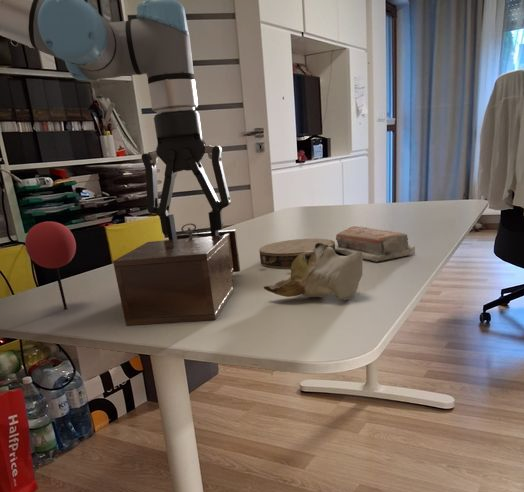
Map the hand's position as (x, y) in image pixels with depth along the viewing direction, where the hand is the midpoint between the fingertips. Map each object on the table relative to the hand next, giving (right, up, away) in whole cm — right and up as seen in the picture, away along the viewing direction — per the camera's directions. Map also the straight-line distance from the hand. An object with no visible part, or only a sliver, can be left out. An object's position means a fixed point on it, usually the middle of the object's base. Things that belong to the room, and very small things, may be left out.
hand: (195, 250), depth 94 cm
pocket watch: (+1, -4, +2) cm, 5 cm away
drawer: (+1, -4, +5) cm, 7 cm away
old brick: (+35, +2, +16) cm, 38 cm away
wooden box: (-1, -11, -10) cm, 15 cm away
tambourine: (+20, +1, +17) cm, 26 cm away
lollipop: (-22, -11, -2) cm, 25 cm away
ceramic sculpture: (+21, -10, -12) cm, 26 cm away
